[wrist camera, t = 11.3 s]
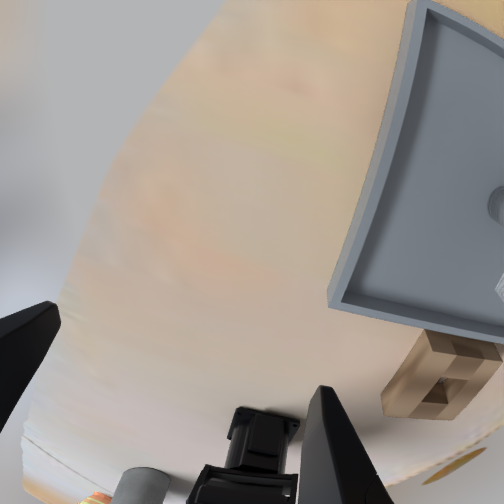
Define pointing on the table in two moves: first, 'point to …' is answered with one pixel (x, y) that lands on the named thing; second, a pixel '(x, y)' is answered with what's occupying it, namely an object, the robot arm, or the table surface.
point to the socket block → (429, 372)
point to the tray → (433, 186)
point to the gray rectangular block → (500, 210)
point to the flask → (141, 487)
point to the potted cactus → (97, 499)
